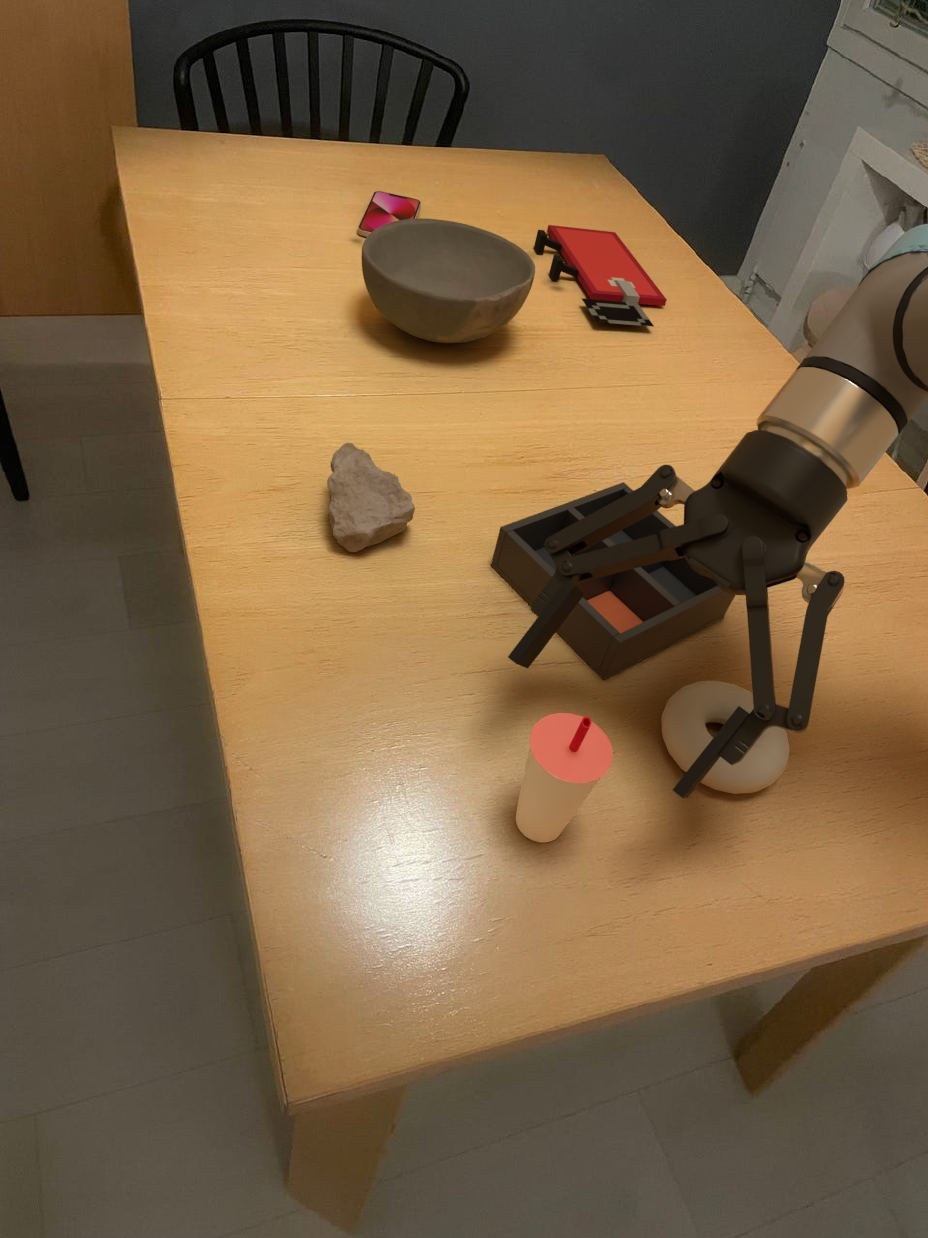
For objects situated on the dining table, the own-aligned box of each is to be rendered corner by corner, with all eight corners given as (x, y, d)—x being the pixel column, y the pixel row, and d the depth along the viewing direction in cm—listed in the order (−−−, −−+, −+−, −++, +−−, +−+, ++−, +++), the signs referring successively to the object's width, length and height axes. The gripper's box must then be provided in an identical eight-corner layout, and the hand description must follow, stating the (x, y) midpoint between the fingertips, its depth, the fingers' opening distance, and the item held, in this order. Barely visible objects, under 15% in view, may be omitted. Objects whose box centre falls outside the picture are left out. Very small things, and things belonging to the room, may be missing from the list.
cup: (571, 864, 59) (624, 763, 51) (495, 843, 60) (535, 739, 51) (580, 799, 63) (630, 695, 55) (508, 780, 63) (547, 673, 55)
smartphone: (356, 229, 122) (374, 189, 133) (355, 236, 123) (373, 196, 134) (408, 240, 123) (422, 199, 133) (407, 247, 123) (421, 206, 134)
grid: (723, 618, 80) (743, 581, 76) (603, 680, 72) (620, 643, 69) (609, 518, 87) (623, 481, 84) (490, 565, 79) (500, 526, 76)
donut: (685, 679, 74) (633, 752, 67) (700, 652, 71) (648, 724, 65) (794, 745, 71) (752, 827, 64) (814, 718, 68) (772, 800, 62)
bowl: (439, 278, 118) (450, 202, 111) (550, 347, 110) (570, 270, 103) (321, 311, 107) (325, 228, 99) (436, 391, 98) (449, 308, 91)
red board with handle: (580, 327, 114) (683, 335, 118) (586, 307, 112) (690, 315, 117) (523, 231, 134) (612, 241, 139) (527, 212, 132) (617, 223, 137)
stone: (293, 498, 81) (295, 446, 77) (369, 480, 85) (375, 429, 81) (342, 565, 76) (347, 513, 72) (421, 542, 80) (430, 492, 76)
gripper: (977, 584, 54) (760, 852, 55) (652, 391, 64) (477, 624, 65) (1001, 554, 47) (753, 861, 49) (633, 343, 57) (437, 604, 58)
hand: (594, 726), depth 57 cm, fingers open, 13 cm apart
